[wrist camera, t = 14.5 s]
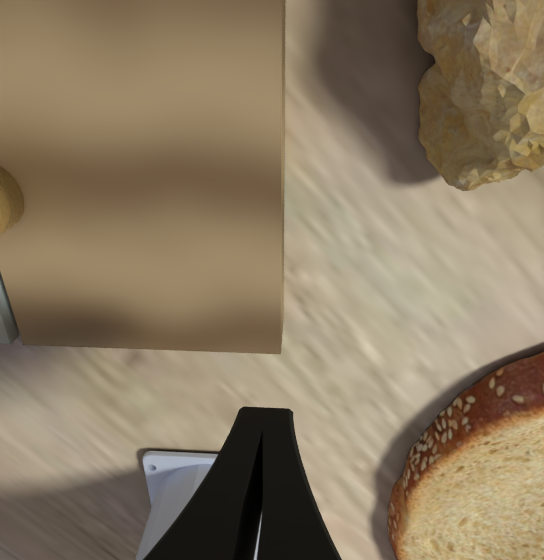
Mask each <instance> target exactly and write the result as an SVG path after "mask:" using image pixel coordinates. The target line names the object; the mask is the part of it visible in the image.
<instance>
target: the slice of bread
mask: <svg viewBox="0 0 544 560" xmlns="http://www.w3.org/2000/svg"><path fill="white" fill-rule="evenodd" d="M387 529H388V535H389V539H390V542H391V545H392V548H393V551H394V554H395V557H396V559H397V560H544V352H542V353H540V354H537V355H535V356H531V357H528V358H524V359H521V360H517V361H515V362H512V363H510V364H507V365H505V366H503V367H501V368H499V369H497V370H495V371H494V372H492V373H490V374H488V375H486V376H484V377H483V378H481V379H479V380H478V381H477V382H475V383H474V384H472V385H471V386H470V387H468V388H467V389H465V390H464V391H463V392H461V393H460V394H459V395H458V396H457V397H456V399H455V400H454V401H453V402H452V403H451V404H450V405H449V406H448V407H447V408H445V409H444V410H443V411H442V412H441V413H440V414H439V415H438V416H437V418H436V419H435V420H434V421H433V423H432V424H431V425H430V426H429V427H428V428H427V429H426V430H425V431H424V433H423V434H422V435H421V437H420V439H419V440H418V441H417V442H416V443H415V444H414V445H413V446H412V447H411V449H410V451H409V454H408V458H407V461H406V466H405V470H404V473H403V474H402V476H401V477H400V478H399V479H398V481H397V482H396V483H395V484H394V486H393V489H392V494H391V498H390V501H389V505H388V523H387Z"/></svg>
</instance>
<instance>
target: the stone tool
mask: <svg viewBox="0 0 544 560" xmlns="http://www.w3.org/2000/svg"><path fill="white" fill-rule="evenodd" d="M417 18H418V35H417V39H418V40H419V42H420V44H421V46H422V48H423V50H424V51H426V52H428V53H430V54H431V55H433V56H434V58H435V61H436V63H435V64H434V65H433V66H432V67H431V68H429V69H428V70H427V71H426V72H425V73H424V75H423V76H422V78H421V80H420V83H419V85H418V91H419V95H420V107H419V116H420V129H419V132H418V136H419V139H418V140H419V142H420V143H421V144H422V145H423V147H424V148H425V149H426V156H427V159H428V160H429V161H430V162H431V163H432V164H433V165H434V167H435V169H436V170H437V171H438V172H439V173H440V174H441V176H442V177H443V178H444V180H445V181H446V182H447V184H448V185H451V186H454V187H456V188H457V189H460V190H462V191H469V190H474V189H476V188H477V187H479V186H481V185H482V184H486V183H492V182H500V181H501V180H505V179H511V178H513V177H515V176H517V175H518V174H519V172H520V171H522V170H524V169H527V170H529V171H531V172H533V171H535V170H537V169H538V168H540V167H541V166H543V165H544V0H418V10H417Z"/></svg>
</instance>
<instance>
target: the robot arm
mask: <svg viewBox="0 0 544 560" xmlns="http://www.w3.org/2000/svg"><path fill="white" fill-rule="evenodd" d="M142 461H143V466H144V471H145V477H146V482H147V487H148V492H149V497H150V502H151V507H152V508H151V511H150V514H149V518H148V521H147V524H146V527H145V530H144V533H143V536H142V540H141V543H140V546H139V549H138V552H137V555H136V559H135V560H342V559H341V557H340V555H339V553H338V551H337V549H336V547H335V545H334V543H333V541H332V539H331V537H330V535H329V532H328V530H327V528H326V526H325V523H324V521H323V519H322V516H321V514H320V512H319V509H318V507H317V504H316V501H315V499H314V496H313V494H312V491H311V488H310V485H309V483H308V479H307V476H306V473H305V470H304V467H303V464H302V460H301V457H300V453H299V449H298V445H297V441H296V436H295V430H294V422H293V412H292V411H291V410H290V409H284V408H261V407H242V408H241V409H240V410H239V412H238V415H237V417H236V420H235V422H234V424H233V427H232V429H231V431H230V433H229V435H228V437H227V439H226V441H225V443H224V445H223V447H222V449H221V450H220V452H219V454H206V453H186V452H166V451H147V452H146V453H145V454H144V456H143V459H142Z"/></svg>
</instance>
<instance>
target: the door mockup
mask: <svg viewBox="0 0 544 560" xmlns="http://www.w3.org/2000/svg"><path fill="white" fill-rule="evenodd" d="M284 136H285V0H0V166H1V167H3V168H4V169H5V170H7V171H8V172H9V173H10V174H11V175H12V176H13V177H14V179H15V180H16V181H17V183H18V184H19V186H20V188H21V190H22V193H23V197H24V203H25V206H24V213H23V215H22V217H21V219H20V220H19V222H18V223H17V224H15V225H14V226H13V227H11V228H10V229H9V230H7V231H6V232H5V233H3V234H2V235H0V344H11V343H12V342H13V341H14V340H15V339H16V338H17V336H18V335H19V334H20V335H21V339H22V342H23V345H46V346H73V347H100V348H127V349H154V350H182V351H209V352H236V353H263V354H281V343H282V331H283V291H284Z"/></svg>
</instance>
